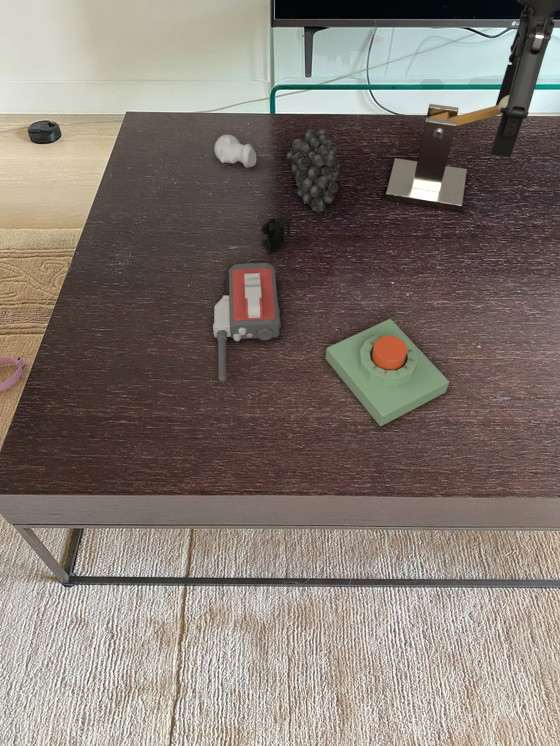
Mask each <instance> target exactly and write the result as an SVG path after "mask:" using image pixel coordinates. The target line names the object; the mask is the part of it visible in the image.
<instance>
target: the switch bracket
mask: <svg viewBox="0 0 560 746" xmlns="http://www.w3.org/2000/svg"><path fill="white" fill-rule="evenodd" d="M459 110H460V109H459V107H456V106H449V105H442V104H436V103H429V104H428V109H427V114H426V119H425V121H424V127H423V132H422V136H421V141H420V147H419V151H418V155H417V161H416V160H411V159H410V160H409V159H403V158H394V160H393V164H392V169H391V173H390V177H389V180H388V185H387V189H386V193H385V198H384V200H385V201H391V202H398V203H403V204H409V205H416V206H417V205H418V206H422V207H429V208H435V209H441V210H448V211H453V212H460V213H461V211H462V207H463V202H464V193H465V186H466V179H467V172H468V171H467V170H468V169H467V168H463V167H456V166H451V165H450V166H449V165H448V166H447V164H448V159H449V155H450V153H451V152H450V151H451V147H452V144H453V140H454V135H455V132H456V127H457V126H456V122H455V121H447V120H440V119H433V118H430V117H431V116H435V115H439V114H442V113H446V112H448V114H449V118H451V117H455V116H458V113H459Z"/></svg>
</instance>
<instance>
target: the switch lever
mask: <svg viewBox="0 0 560 746" xmlns="http://www.w3.org/2000/svg"><path fill="white" fill-rule="evenodd" d="M508 99H509V95H508V96H505V97H504V98H503V99H502V100H501V101H500V103H499V105H496V104H495V105H496V106H495V105H493V106H489V107H486V108H482V109H479V110H474V111H471V112H467V113H463V114H460V115H457V116H455V117H451V118H449V114H448V112H446V113H442V114H439V115H435V116H431V117H430V118H433V119H440V120H447V121H455V122H456V127H458V126H462V125H466V124H469V123H474V122H477V121H480V120H485V119H488V118H489V119H490V118H493V117H497V116H501V118H502V114H503V113H500V108H501V107H503V108H506V107H507V103H508Z"/></svg>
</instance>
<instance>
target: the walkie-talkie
mask: <svg viewBox="0 0 560 746" xmlns="http://www.w3.org/2000/svg"><path fill="white" fill-rule="evenodd" d="M225 273H226V275H225V277H226V291H225V293H224V295H222V298H221V299H220V300H219V301H218V302H216V304H215V305H214V307H213V310H214V311H213V313H214V317H213V324H212V330H213V336H214V338H216V340H217V373H218V374H217V375H218V376H217V379H218V380H219V382H222V383H224V382H226V381H227V379H228V377H227V373H228V372H227V341H228V338H229V337H230V338H231V339H233V341H235V342H240V340H243V339H259V340H260V341H269V340H271V339H272V338H278V337H279V336H280V329H281V328H282V326H281V325H282V324H281V317H280V316H281V315H280V313H281V311H280V310H281V309H280V306H279V301H278V293H277V292H278V291H277V279H276V268H275V267H274V266H273V265H272V264H270V263H268V262H256V263H255V262H254V263H235V264H234V265H232V266H231V265H230V266H229V267H227V269H226V272H225Z"/></svg>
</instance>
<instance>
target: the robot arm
mask: <svg viewBox="0 0 560 746" xmlns="http://www.w3.org/2000/svg"><path fill="white" fill-rule="evenodd" d="M516 1H517V2H518V3H519V4H520V5H522V6H524V9H522V11H521V13H520V17H519V21H518V22H519V23H518V26H517V29H516V32H515V35H514V37H513V38H514V39H513V41H512V45H510V48H509V49H510V55H509V57H508V63H507V65H506V69H505V72H504V74H503V75H504V76H503V78H502V82H501V85H500V88H499V92H498V96H497V98H496V102H495V105H494V106H496V105H499V103H500V101H501V100H502V99H503V98H504V97H505V96H508V95H509V99H508V103H507V107H506V108H503V107H501V108H500V113H503V114H502V117H501V118H500V120H499V124H498V128H497V131H496V134H495V136H494V137H495V138H494V141H493V144H492V147H491V150H490V155H491V156H498V157H505V158H512V157H511V156H512V153H513V151H514V148H515V144H516V142H517V139H518V136H519V133H520V130H521V127H522V124H523V122H524V119H527V118H528V116H529V114H530V113H529V112H530V111H529V110H530V106H531V103H532V100H533V96H534V94H535V93H534V92H535V89H536V85H537V82H538V79H539V75H540V71H541V69H542V65H543V61H544V58H545V54H546V51H547V48H548V45H549V42H550V41H551V39H552V34H553V32H554V27H555V21H554V18H555V12H556V13H557V12H558V11H560V0H516ZM509 63H510V64H509Z"/></svg>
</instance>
